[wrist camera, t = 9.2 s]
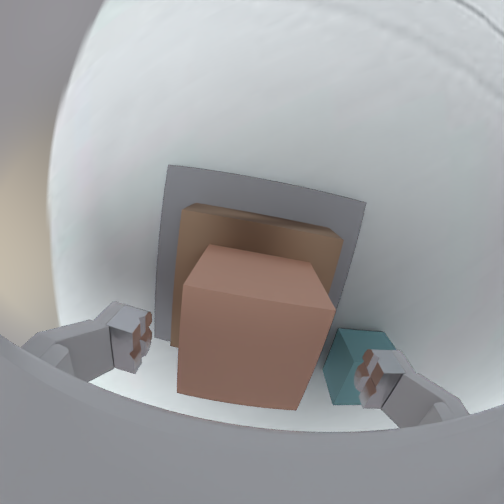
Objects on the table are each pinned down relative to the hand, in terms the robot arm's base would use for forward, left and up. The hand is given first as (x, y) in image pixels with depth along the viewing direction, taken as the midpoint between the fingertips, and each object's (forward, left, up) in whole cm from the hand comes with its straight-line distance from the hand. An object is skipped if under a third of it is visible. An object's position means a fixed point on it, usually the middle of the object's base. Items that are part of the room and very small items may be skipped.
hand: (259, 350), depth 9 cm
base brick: (0, 0, -8) cm, 8 cm away
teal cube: (-9, +5, -8) cm, 13 cm away
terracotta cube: (0, 0, -5) cm, 5 cm away
